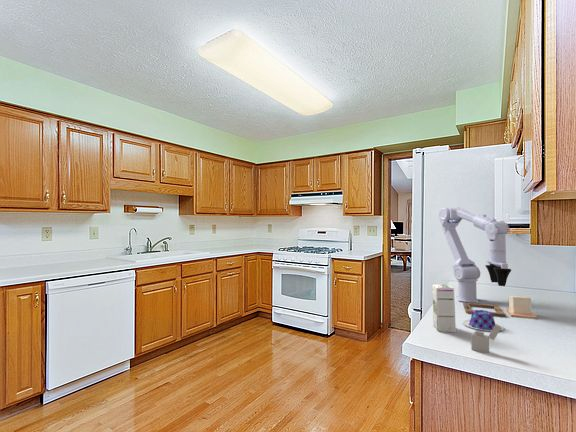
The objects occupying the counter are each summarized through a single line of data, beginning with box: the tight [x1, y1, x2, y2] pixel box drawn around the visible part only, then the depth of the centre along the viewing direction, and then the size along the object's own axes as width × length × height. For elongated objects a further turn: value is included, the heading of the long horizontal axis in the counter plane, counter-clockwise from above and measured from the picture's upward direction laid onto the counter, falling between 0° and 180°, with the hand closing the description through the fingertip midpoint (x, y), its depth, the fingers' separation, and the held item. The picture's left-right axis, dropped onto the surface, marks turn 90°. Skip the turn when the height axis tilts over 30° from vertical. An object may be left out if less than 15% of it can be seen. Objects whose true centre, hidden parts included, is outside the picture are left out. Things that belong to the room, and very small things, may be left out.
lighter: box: [470, 323, 502, 354], centre depth 87 cm, size 7×2×8 cm, turn 55°
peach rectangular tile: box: [504, 307, 538, 320], centre depth 122 cm, size 10×8×1 cm
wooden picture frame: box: [462, 302, 507, 318], centre depth 127 cm, size 14×13×2 cm
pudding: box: [462, 309, 504, 332], centre depth 109 cm, size 12×12×5 cm
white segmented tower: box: [432, 283, 457, 333], centre depth 106 cm, size 6×6×14 cm
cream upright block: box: [508, 295, 532, 314], centre depth 122 cm, size 3×6×6 cm, turn 81°
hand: (498, 284), depth 129 cm, fingers open, 7 cm apart
